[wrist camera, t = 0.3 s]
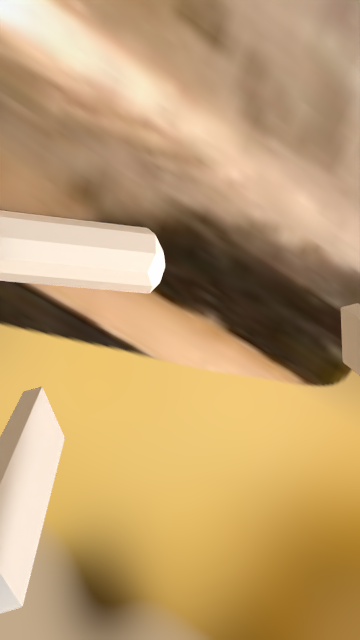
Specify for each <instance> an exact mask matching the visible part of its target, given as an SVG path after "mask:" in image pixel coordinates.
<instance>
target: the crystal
mask: <svg viewBox="0 0 360 640" xmlns="http://www.w3.org/2000/svg"><path fill="white" fill-rule="evenodd" d="M152 261H153V262H152ZM164 268H165V261H164V253H163V250H162V248H161V246H160V244H159V242H158V239H157V237H156V235H155V234H154V233H153V232H152V231H150V230H149V229H148V228H144V227H135V226H127V225H119V224H111V223H102V222H94V221H86V220H77V219H69V218H61V217H52V216H44V215H36V214H28V213H19V212H11V211H3V210H0V281H11V282H22V283H34V284H46V285H57V286H69V287H80V288H92V289H104V290H115V291H127V292H138V293H150V292H151V291H152V290H153V289H154V288H155V287H156V286H157V285H158V284H159V283H160V281H161V278H162V275H163V272H164Z"/></svg>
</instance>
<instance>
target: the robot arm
mask: <svg viewBox="0 0 360 640" xmlns="http://www.w3.org/2000/svg"><path fill="white" fill-rule="evenodd" d="M341 327H342V353H343V362H344V363H345V364H346V365H347V366H349V367H350V368H351V369H352V370H354V371H355V372H356V373H357V374H359V375H360V304H358V303H357V304H353V305H349V306H345V307H342V308H341ZM64 439H65V438H64V435H63V433H62V431H61V429H60V426H59V424H58V422H57V419H56V417H55V415H54V413H53V410H52V408H51V406H50V404H49V401H48V399H47V397H46V394H45V392H44V390H43V388H42V387H39V388H35V389H31V390H28V391H24V392H23V394H22V396H21V398H20V400H19V402H18V404H17V406H16V408H15V410H14V412H13V414H12V416H11V417H10V419H9V421H8V423H7V425H6V427H5V429H4V431H3V433H2V435H1V437H0V613H3V612H7V611H10V610H13V609H17V608H20V607H22V606H23V602H24V598H25V595H26V590H27V586H28V583H29V579H30V575H31V571H32V567H33V562H34V559H35V555H36V551H37V546H38V542H39V539H40V535H41V531H42V527H43V523H44V519H45V515H46V511H47V507H48V503H49V499H50V495H51V491H52V487H53V483H54V479H55V475H56V471H57V467H58V463H59V459H60V455H61V451H62V447H63V443H64Z"/></svg>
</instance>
